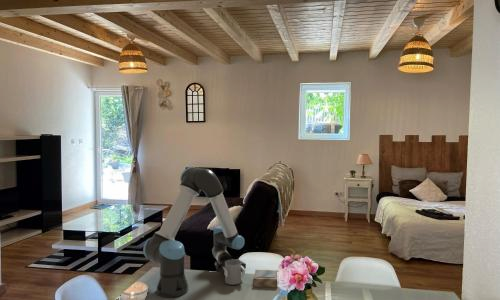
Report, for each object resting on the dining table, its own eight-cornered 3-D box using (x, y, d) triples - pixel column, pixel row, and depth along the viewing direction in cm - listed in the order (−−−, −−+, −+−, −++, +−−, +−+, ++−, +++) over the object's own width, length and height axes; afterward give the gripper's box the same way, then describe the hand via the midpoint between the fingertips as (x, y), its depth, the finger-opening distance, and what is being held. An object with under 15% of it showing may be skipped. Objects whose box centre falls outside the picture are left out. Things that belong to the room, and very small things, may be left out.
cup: (242, 278, 194) (242, 259, 194) (240, 284, 186) (240, 265, 186) (226, 277, 195) (226, 259, 195) (223, 284, 187) (223, 264, 187)
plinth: (253, 286, 186) (253, 277, 186) (255, 277, 198) (255, 269, 198) (277, 287, 185) (277, 278, 184) (278, 277, 197) (278, 269, 196)
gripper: (242, 263, 211) (255, 277, 190) (205, 267, 204) (215, 283, 183) (242, 250, 211) (255, 263, 189) (205, 253, 204) (215, 268, 183)
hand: (235, 273), depth 186 cm, fingers closed on cup, 8 cm apart
